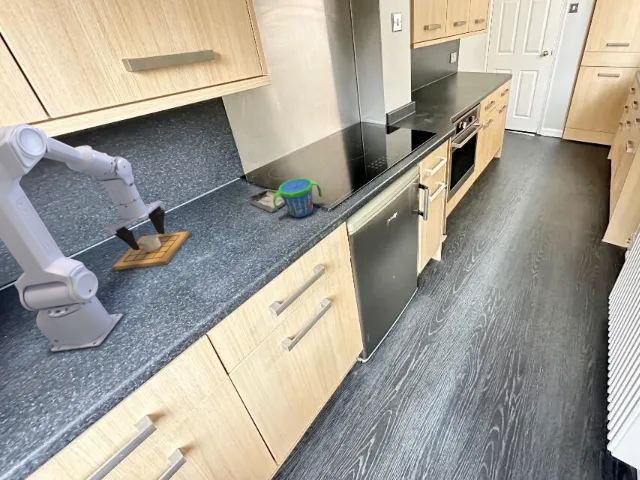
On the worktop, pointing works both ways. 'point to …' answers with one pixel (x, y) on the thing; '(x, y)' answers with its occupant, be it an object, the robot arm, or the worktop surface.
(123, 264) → the board
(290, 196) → the snack cup
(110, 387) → the worktop surface
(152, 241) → the cream cylinder puck
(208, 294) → the worktop surface
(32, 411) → the worktop surface
